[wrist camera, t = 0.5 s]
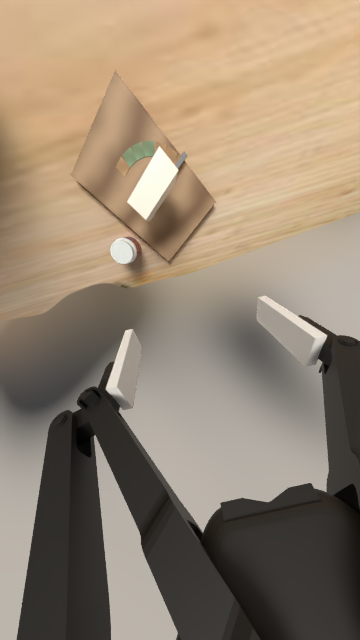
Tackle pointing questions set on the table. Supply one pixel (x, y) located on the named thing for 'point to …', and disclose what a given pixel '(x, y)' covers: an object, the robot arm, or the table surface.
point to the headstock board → (138, 171)
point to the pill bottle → (125, 250)
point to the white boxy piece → (155, 184)
